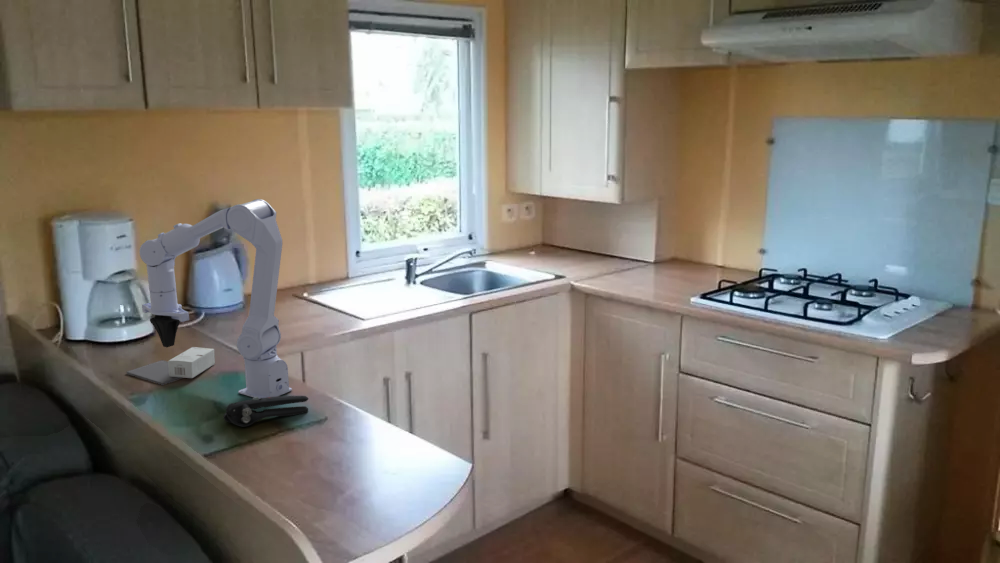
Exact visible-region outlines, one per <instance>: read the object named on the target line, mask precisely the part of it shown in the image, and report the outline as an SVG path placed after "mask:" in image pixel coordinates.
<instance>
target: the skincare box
mask: <svg viewBox="0 0 1000 563" xmlns="http://www.w3.org/2000/svg"><path fill="white" fill-rule="evenodd" d="M167 362H168V366H169V376H170V377H183V378H182V379H184V378H187V379H193V378H195V377H196V376H198V375H200V374H201V373H203V372H204V371H206V370H208V369H209V368H211V367H212V366H214V365H216V363H215V362H216V360H215V348H207V347H197V346H191V347H190V348H188V349H186V350H185V351H183V352H181V353H179V354H178V355H176V356H175V357H173V358H171V359H169V360H168V361H167Z"/></svg>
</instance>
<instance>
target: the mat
mask: <svg viewBox="0 0 1000 563" xmlns="http://www.w3.org/2000/svg"><path fill="white" fill-rule="evenodd" d="M125 373H126V375H128V376H132V377H134V376H135V378H138V379H141V380H144V381H147V380H148V381H147V382H150V381H151V383H154V382H155V383H154V384H157V383H158V384H157V385H160V384H161V385H160V386H164V384H165V385H168V384H171V383H173V382H176V381H178V380H181V379H184V378H183V377H170V376H169V366H168V361H167V360H163V359H161V360H158V361H155V362H151V363H149V364H146V365H143V366H139V367H137V368H133V369H130V370H127V371H126V372H125ZM170 382H171V383H170ZM167 383H168V384H167Z"/></svg>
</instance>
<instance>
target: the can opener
mask: <svg viewBox="0 0 1000 563" xmlns="http://www.w3.org/2000/svg"><path fill="white" fill-rule="evenodd" d="M308 400H309V397H307V396H306V395H280V396H277V397H266V398H260V399H259V398H258V397H252V399H246V400H242V401H238V402H236V401H235V402H232V403H229V404H228V405H227V407H226V409H225V413H224V414H223V416H222V418H223V419H224V421H225V422H227V423H230V424H233V425H236V426H238V427H243V428H245V427H250V426H252V425H254V423H255V422H257V421H259V420H262V419H264V418H271V417H290V416H291V417H292V416H296V415H302V414H305V413H307V412H308V411H309V408H308V407H307V406H303V405H302V406H301V405H300V406H287V407H276V406H283V405H290V404H297V403H305V402H307V401H308ZM269 407H270V408H269ZM271 407H275V408H271ZM260 408H265V409H263V410H260V411H257V409H260Z"/></svg>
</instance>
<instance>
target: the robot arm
mask: <svg viewBox="0 0 1000 563" xmlns="http://www.w3.org/2000/svg"><path fill="white" fill-rule="evenodd" d="M223 228H224V229H225V230H232V231H233V232H234V233H235V234H237V235H238V236H240V237H241V238H243V239H245V240H246V241H248V242H249V243H250V244H252V246H253V247H254V248H255V256H254V267H253V274H252V275H253V277H252V285H251V292H250V293H251V294H250V302H249V312H248V316H247V318H246V320H245V322H244V323H243V325H242V330H241V334H240V335H239V336H238V338H237V341H236V348H237V350H238V353H239V354H240V355H241V356H242V359H243V362H244V375H245V384H246V387H245V388H242V389H239V390H238V394H241V395H244V396H247V397H250V398H254V397H258V398H259V399H260V398H266V397H277V396H283V395H284V394H287V393H289V392H291V391H293V388H292V387H290V381H289V369H288V368H289V367H288V364H287V362H286V361H285V360H284V359H282V358H280V357H279V355H278V354H277V352H278V350H277V347H278V346H277V345H279V343H280V341H281V338H282V335H281V334H282V332H281V331H280V330H281V329H280V326H279V323H280V320H279V319H278V317H276V316H275V310H276V301H277V292H278V284H279V276H280V268H281V260H282V251H283V238H282V235H281V232H280V228H279V226H278V222H277V211H276V210H275V208H274V207H272V206H271V204H270V203H269V202H267V201H266V200H265V199H261V198H257V199H253V200H251V201H248V202H244V203H241V204H240V203H239V204H235V205H232V206H231V207H226V208H223V209H221V210H218V211H216V212H215V213H213V214H210V216H207V217H206V218H204V219H202V220H200V221H198V222H196V223H195V224H194V225H192V224H190V223H180V222H179V223H176V224H175V225H173V229H171V230H168V231H167V232H160V233H159V234H157V238H154V239H148V240H147V239H146V241H144V242H143V243H142V244H141V245H140V248H139V256H140V259H141V261H142V262H143V263H144V264H146V271H147V272H146V273H147V281H148V283H147V284H148V290H149V291H148V292H149V298H150V300H149V301H150V302H148V303H143V304H142V303H141V309H142V313H144V314H146V313H149V314H152V315H154V317H151V318H149V322H150V324H152V325H153V327H154V329H155V330H156V332H157V334H158V338H159V339H160V342H161V344H162V346H163V347H164V348H170V347H173V346H175V343H176V336H177V331H178V328H179V325H180V324H181V322H182V323H184V322H186V321H189V320H190V314H189V313H190V312H189V311H187V310H185V309H183V306H182V304H180V303H178V295H177V294H178V293H177V284H176V275H175V274H176V273H175V266H176V263H175V262H176V260H175V259H176V258H177V257H179V256H180V255H182V254H184V253H186V252H188V251H189V252H190V251H191V250H192V249H195V248H197V247H198V246H199V244H200V242H201V241H200V240H201V238H204V237H207V236H208V235H210V234H212V233H214V232H217V231H219V230H221V229H223Z"/></svg>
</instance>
